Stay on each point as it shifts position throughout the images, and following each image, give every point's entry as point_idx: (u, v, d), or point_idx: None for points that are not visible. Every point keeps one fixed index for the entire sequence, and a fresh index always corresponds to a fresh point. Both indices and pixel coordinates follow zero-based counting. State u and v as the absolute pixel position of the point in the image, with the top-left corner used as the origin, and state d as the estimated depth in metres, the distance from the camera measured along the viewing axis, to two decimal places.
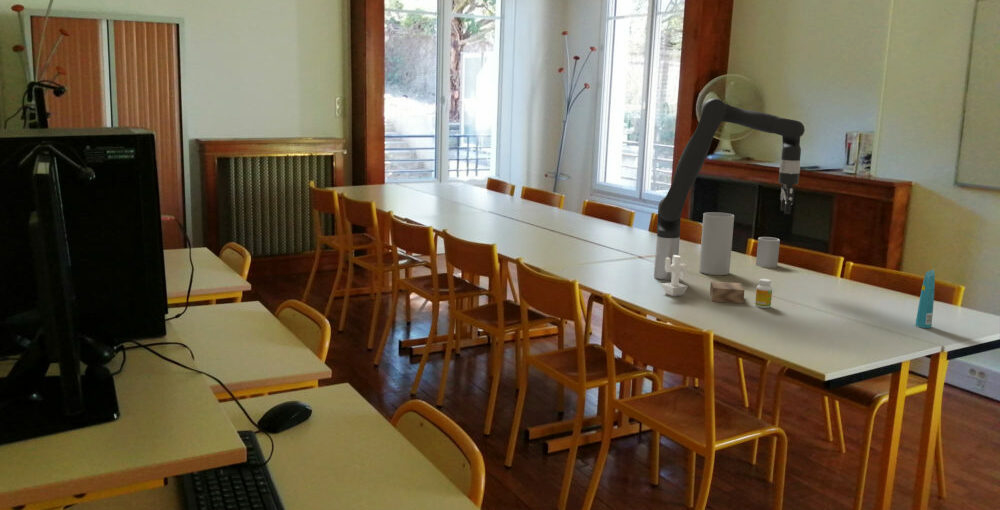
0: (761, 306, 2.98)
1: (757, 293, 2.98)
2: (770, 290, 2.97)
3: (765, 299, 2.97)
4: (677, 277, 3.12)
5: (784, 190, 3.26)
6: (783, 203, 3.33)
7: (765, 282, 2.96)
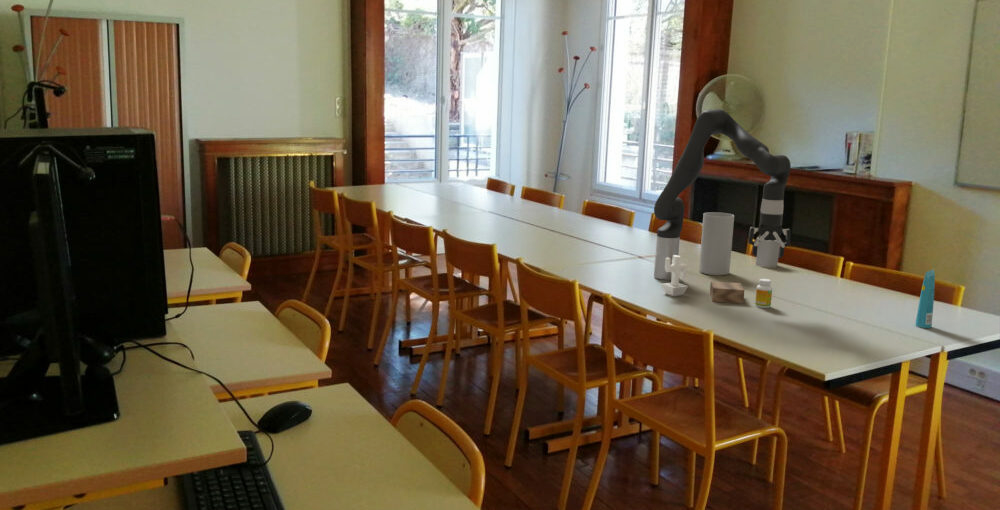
0: (761, 306, 2.98)
1: (757, 293, 2.98)
2: (770, 290, 2.97)
3: (765, 299, 2.97)
4: (677, 277, 3.12)
5: (776, 233, 2.93)
6: None
7: (765, 282, 2.96)
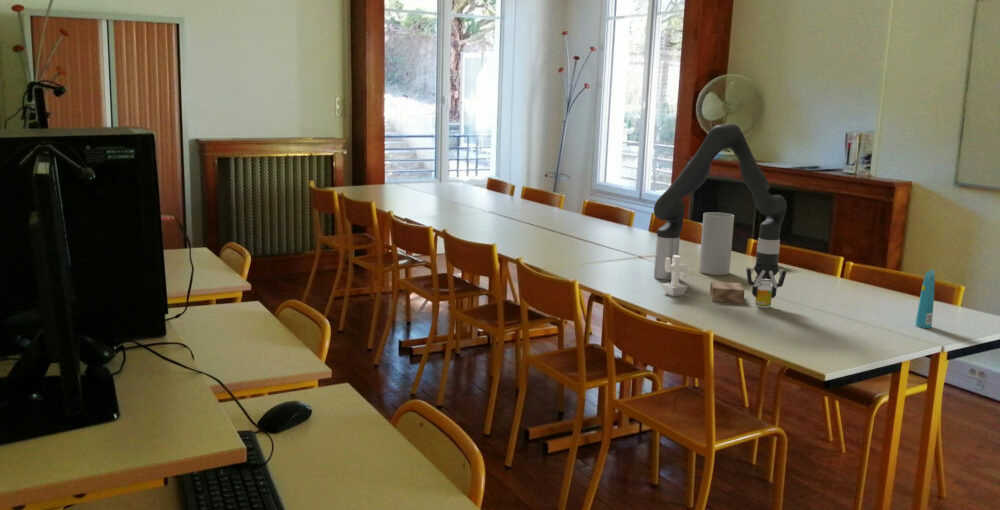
0: (761, 306, 2.98)
1: (757, 293, 2.98)
2: (770, 290, 2.97)
3: (765, 299, 2.97)
4: (677, 277, 3.12)
5: (772, 272, 2.96)
6: (756, 288, 2.99)
7: (765, 282, 2.96)
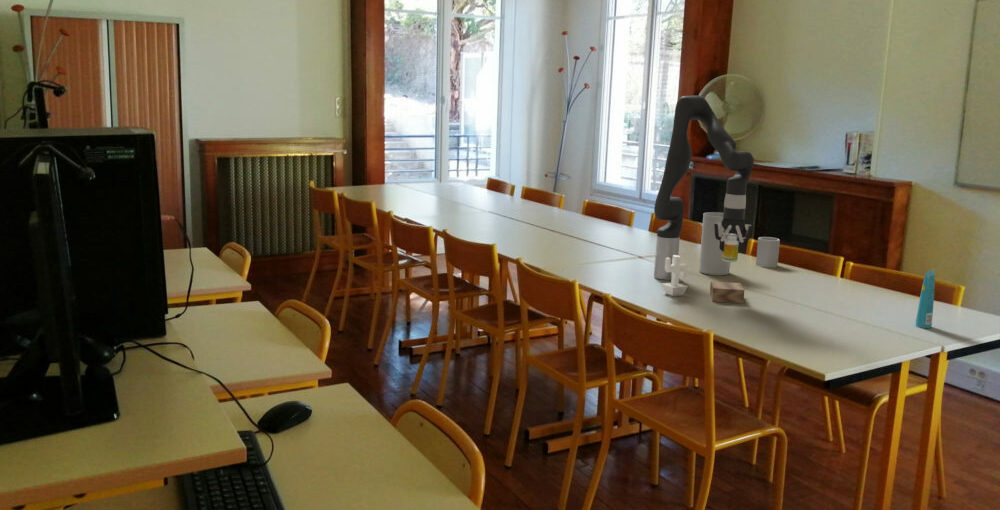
0: (728, 260, 3.04)
1: (724, 248, 3.05)
2: (736, 244, 3.03)
3: (731, 253, 3.03)
4: (677, 277, 3.12)
5: (739, 227, 3.02)
6: (723, 243, 3.05)
7: (732, 237, 3.03)
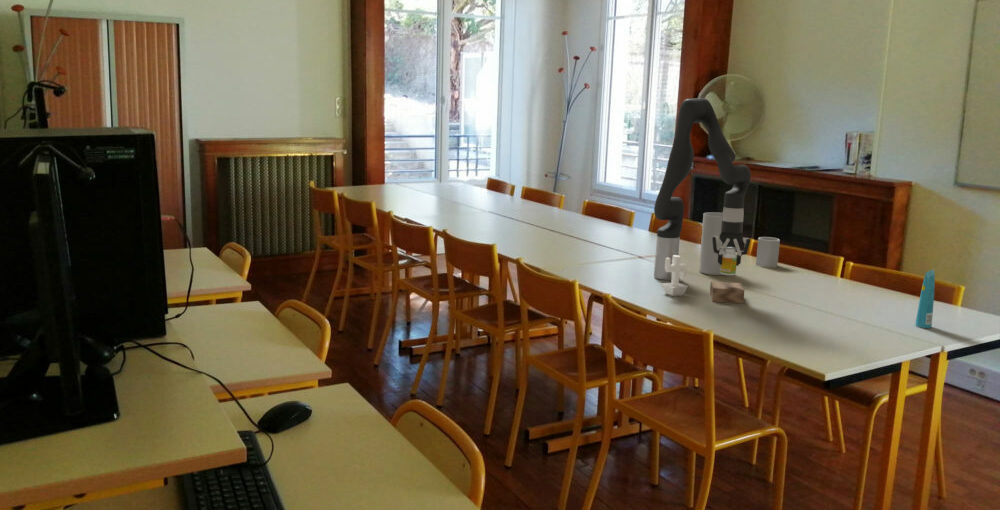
0: (726, 273, 3.05)
1: (722, 261, 3.06)
2: (735, 258, 3.04)
3: (729, 266, 3.04)
4: (677, 277, 3.12)
5: (737, 240, 3.03)
6: None
7: (730, 250, 3.04)
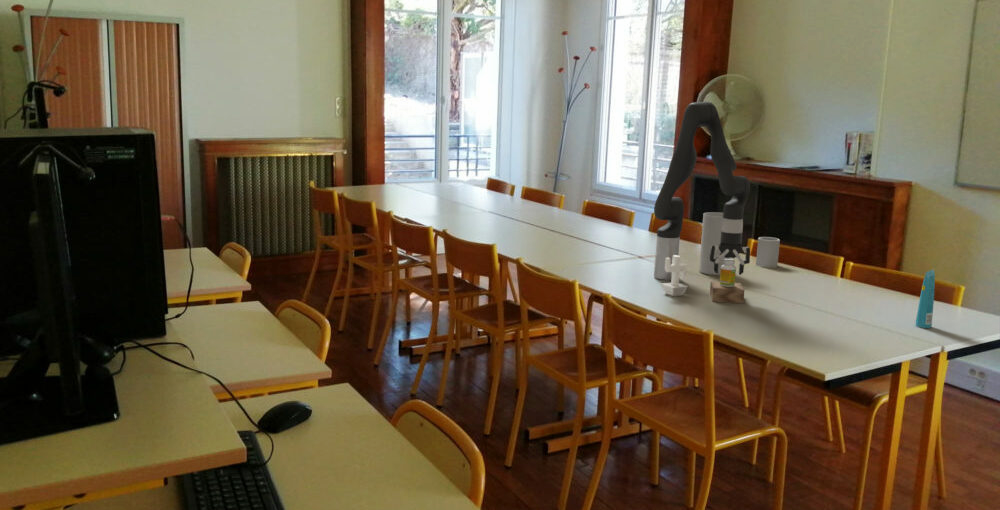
0: (725, 285, 3.06)
1: (721, 273, 3.07)
2: (734, 269, 3.05)
3: (728, 278, 3.05)
4: (677, 277, 3.12)
5: (736, 251, 3.04)
6: None
7: (729, 262, 3.05)
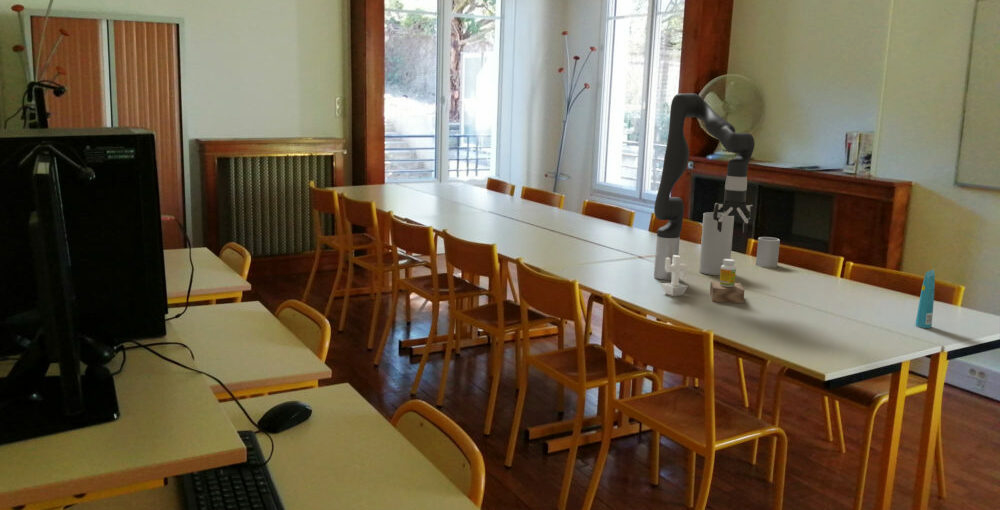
0: (725, 285, 3.06)
1: (721, 273, 3.07)
2: (734, 269, 3.05)
3: (728, 278, 3.05)
4: (677, 277, 3.12)
5: (740, 209, 3.01)
6: (721, 223, 3.04)
7: (729, 262, 3.05)
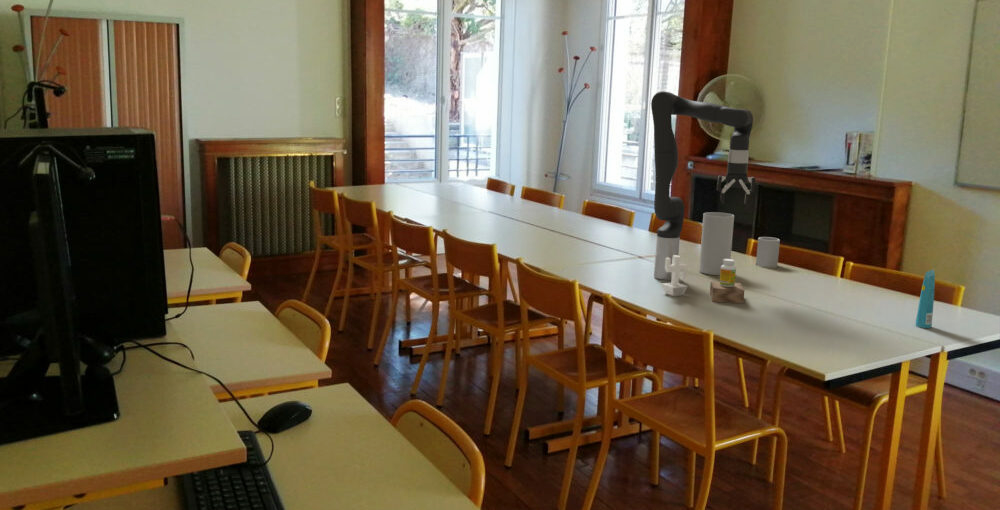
0: (725, 285, 3.06)
1: (721, 273, 3.07)
2: (733, 269, 3.05)
3: (728, 278, 3.05)
4: (677, 277, 3.12)
5: (742, 180, 3.20)
6: (724, 195, 3.23)
7: (729, 262, 3.05)
